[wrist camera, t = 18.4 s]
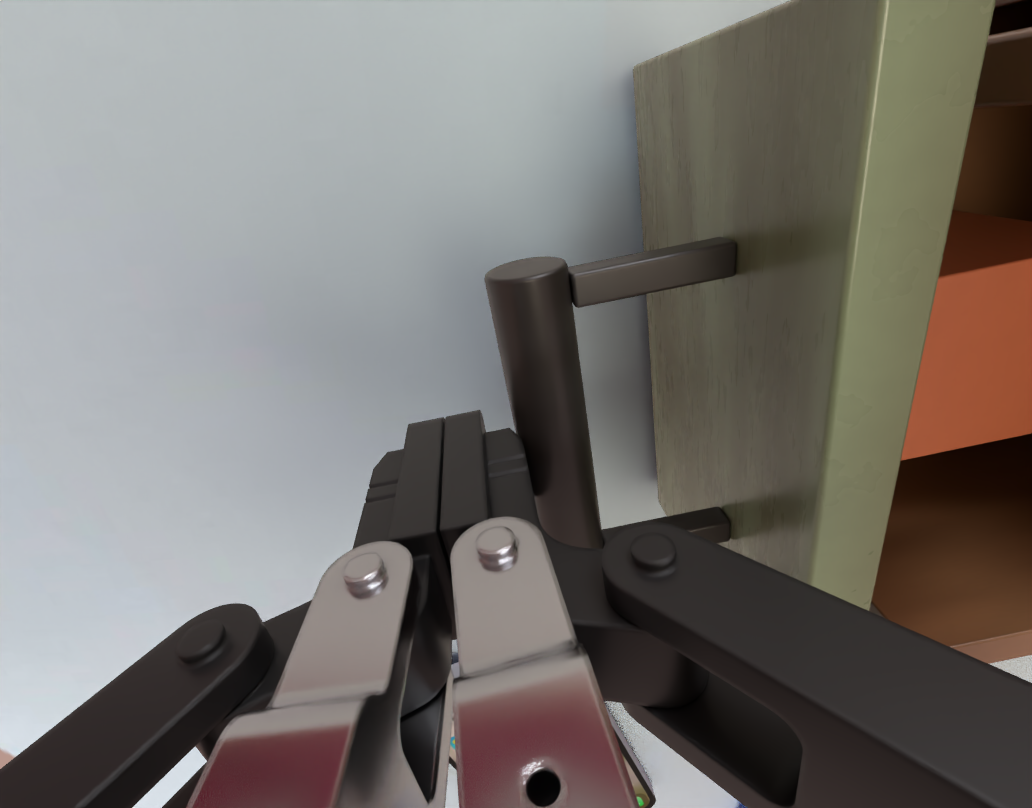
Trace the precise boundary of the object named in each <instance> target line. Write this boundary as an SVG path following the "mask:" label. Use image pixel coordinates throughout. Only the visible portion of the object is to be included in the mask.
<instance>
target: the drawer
mask: <svg viewBox="0 0 1032 808" xmlns="http://www.w3.org/2000/svg"><path fill="white" fill-rule="evenodd" d="M995 2H996V0H790V1H788V2H786V3H783V4H781V5H779V6H776V7H774V8H771V9H769V10H767V11H764V12H762V13H759V14H757V15H755V16H752V17H750V18H747V19H745V20H743V21H740V22H738V23H735V24H733V25H731V26H728V27H726V28H723V29H721V30H719V31H716V32H714V33H711V34H709V35H707V36H704V37H702V38H699V39H697V40H695V41H692V42H690V43H687V44H685V45H683V46H680V47H678V48H675V49H673V50H671V51H668V52H666V53H664V54H661V55H659V56H656V57H654V58H652V59H649V60H647V61H644V62H642V63H640V64H637V65H636V66H634V69H633V78H634V95H635V112H636V129H637V145H638V162H639V179H640V196H641V213H642V229H643V246H644V252H641V253H636V254H631V255H626V256H621V257H616V258H611V259H606V260H601V261H596V262H591V263H586V264H581V265H576V266H571V267H569V268H568V266H567V263H566V262H565V260H564V259H561V258H556V257H533V258H526V259H521V260H516V261H512V262H509V263H506V264H503V265H500V266H498V267H496V268H494V269H492V270H490V271H489V272H488V273H487V274H486V275H485V284H486V289H487V294H488V299H489V304H490V309H491V314H492V318H493V323H494V328H495V333H496V338H497V343H498V348H499V352H500V357H501V362H502V367H503V372H504V377H505V382H506V386H507V391H508V396H509V401H510V406H511V411H512V416H513V420H514V425H515V430H516V434H517V435H518V436H519V437H520V438H522V441H523V446H524V450H525V455H526V460H527V464H528V469H529V474H530V479H531V483H532V488H533V493H534V498H535V502H536V507H537V512H538V516H539V521H540V524H541V526H542V527H543V529H544V530H545V531H546V533H547V534H548V535H550V536H551V537H552V538H554V539H555V540H557V541H559V542H561V543H564V544H567V545H570V546H575V547H582V548H597V549H603V547H604V545H605V543H606V542H607V540H608V539H609V538H610V537H611V536H612V535H613V534H615V533H616V532H617V531H619V530H621V529H623V528H625V527H627V526H630V525H633V524H637V523H644V522H660V523H667V524H671V525H675V526H677V527H680V528H683V529H685V530H687V531H689V532H692V533H694V534H696V535H698V536H701V537H703V538H705V539H707V540H710V541H712V542H714V543H716V544H719V545H721V546H723V547H726V548H728V549H730V550H732V551H735V552H737V553H739V554H741V555H744V556H746V557H748V558H750V559H753V560H755V561H757V562H759V563H762V564H764V565H766V566H768V567H771V568H773V569H775V570H777V571H780V572H782V573H784V574H786V575H789V576H791V577H793V578H795V579H798V580H800V581H802V582H805V583H807V584H809V585H811V586H814V587H816V588H818V589H820V590H823V591H825V592H827V593H829V594H832V595H834V596H836V597H838V598H841V599H843V600H845V601H847V602H850V603H852V604H854V605H856V606H859V607H861V608H863V609H865V610H868V611H870V612H872V613H874V614H877V615H879V616H881V617H883V618H886V619H888V620H890V621H893V622H895V623H897V624H899V625H902V626H904V627H906V628H908V629H911V630H913V631H915V632H917V633H920V634H922V635H924V636H926V637H929V638H931V639H933V640H935V641H938V642H940V643H942V644H944V645H947V646H949V647H951V648H953V649H956V650H958V651H960V652H962V653H965V654H967V655H969V656H971V657H974V658H976V659H978V660H981V661H983V662H985V663H987V664H989V663H994V662H999V661H1003V660H1008V659H1013V658H1018V657H1023V656H1027V655H1032V433H1031V434H1026V435H1022V436H1017V437H1012V438H1007V439H1002V440H998V441H993V442H988V443H983V444H978V445H974V446H969V447H964V448H959V449H955V450H950V451H945V452H940V453H935V454H931V455H926V456H921V457H916V458H911V459H907V460H902V461H901V456H902V452H903V447H904V442H905V437H906V432H907V427H908V423H909V418H910V413H911V408H912V403H913V398H914V394H915V389H916V384H917V379H918V374H919V369H920V365H921V360H922V355H923V350H924V345H925V340H926V336H927V331H928V326H929V321H930V316H931V311H932V307H933V302H934V297H935V292H936V287H937V282H938V278H939V273H940V268H941V263H942V258H943V253H944V249H945V244H946V239H947V234H948V229H949V225H950V220H951V215H952V210H955V211H961V212H968V213H975V214H982V215H989V216H996V217H1003V218H1010V219H1017V220H1024V221H1031V222H1032V27H1027V28H1022V29H1017V30H1012V31H1007V32H1002V33H997V34H992V35H989V31H990V26H991V22H992V17H993V12H994V7H995ZM644 294H646V297H647V314H648V330H649V347H650V364H651V381H652V398H653V415H654V431H655V448H656V465H657V482H658V499H659V503H660V505H661V507H662V508H663V510H664V512H665V514H666V516H667V517H662V518H657V519H652V520H647V521H642V522H637V523H633V524H628V525H623V526H618V527H613V528H608V529H603V530H601V522H600V514H599V507H598V499H597V491H596V483H595V476H594V468H593V460H592V452H591V445H590V437H589V429H588V421H587V413H586V406H585V398H584V390H583V382H582V375H581V367H580V359H579V351H578V344H577V336H576V328H575V320H574V313H573V305H572V303H573V304H574V305H575V307H578V308H580V307H585V306H590V305H595V304H600V303H605V302H610V301H615V300H620V299H625V298H630V297H634V296H639V295H644Z"/></svg>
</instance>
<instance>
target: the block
mask: <svg viewBox="0 0 1032 808" xmlns="http://www.w3.org/2000/svg"><path fill="white" fill-rule="evenodd" d="M1031 433H1032V222H1031V221H1024V220H1017V219H1010V218H1003V217H996V216H989V215H982V214H975V213H968V212H961V211H955V210H952V215H951V220H950V225H949V229H948V234H947V239H946V244H945V249H944V253H943V258H942V263H941V268H940V273H939V278H938V282H937V287H936V292H935V297H934V302H933V307H932V311H931V316H930V321H929V326H928V331H927V336H926V340H925V345H924V350H923V355H922V360H921V365H920V369H919V374H918V379H917V384H916V389H915V394H914V398H913V403H912V408H911V413H910V418H909V423H908V427H907V432H906V437H905V442H904V447H903V452H902V456H901V461H902V460H907V459H911V458H916V457H921V456H926V455H931V454H935V453H940V452H945V451H950V450H955V449H959V448H964V447H969V446H974V445H978V444H983V443H988V442H993V441H998V440H1002V439H1007V438H1012V437H1017V436H1022V435H1026V434H1031Z"/></svg>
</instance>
